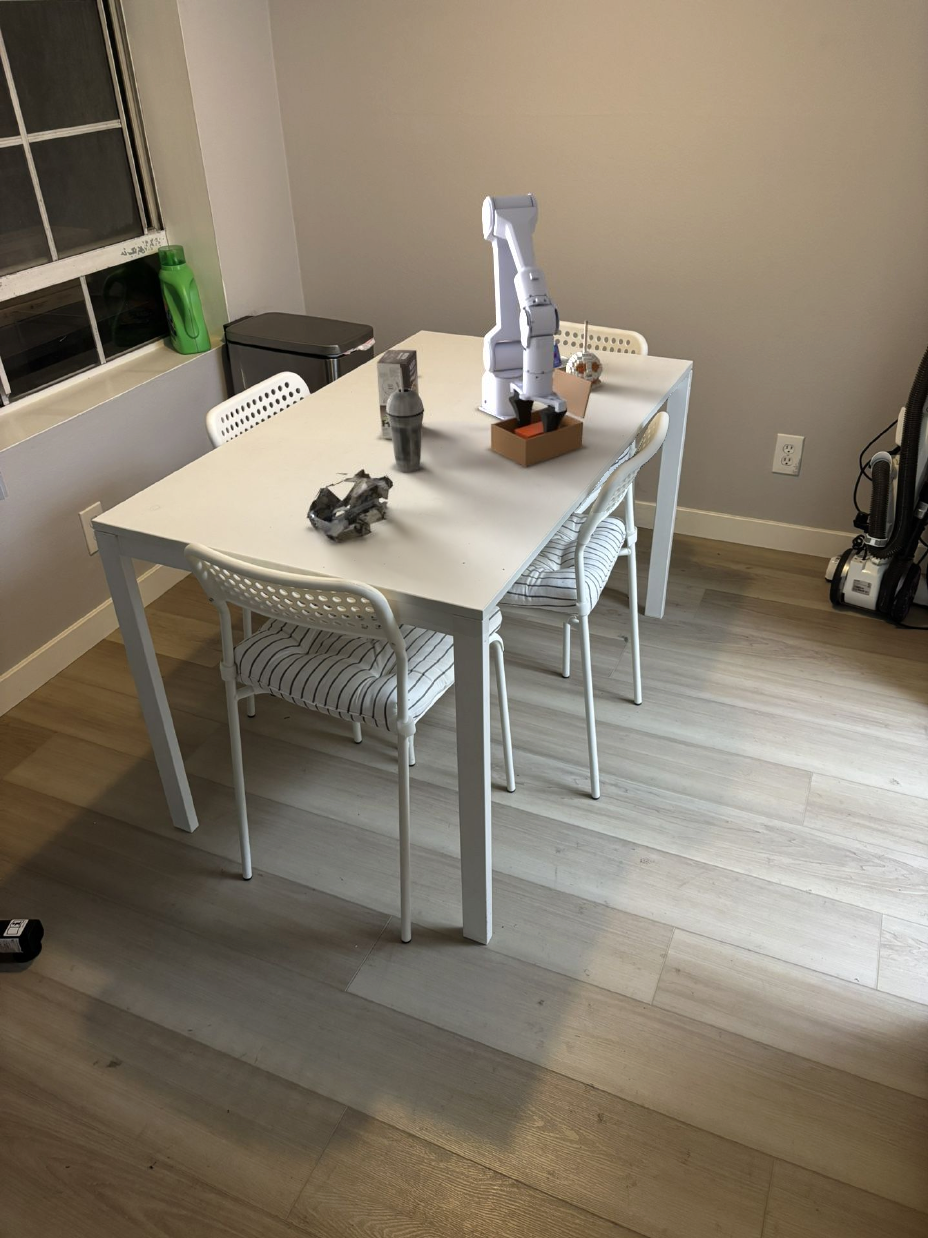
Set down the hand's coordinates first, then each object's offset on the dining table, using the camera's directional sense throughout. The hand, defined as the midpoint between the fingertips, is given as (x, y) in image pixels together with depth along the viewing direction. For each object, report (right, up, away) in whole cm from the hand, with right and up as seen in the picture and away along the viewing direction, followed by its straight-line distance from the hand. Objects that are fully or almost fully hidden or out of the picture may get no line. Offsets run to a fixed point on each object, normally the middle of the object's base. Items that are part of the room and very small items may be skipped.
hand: (536, 435), depth 190 cm
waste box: (0, -2, +2) cm, 3 cm away
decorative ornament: (+13, +18, +31) cm, 38 cm away
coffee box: (-28, +3, +11) cm, 30 cm away
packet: (0, -2, +1) cm, 2 cm away
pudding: (+5, +26, +44) cm, 52 cm away
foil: (-34, -20, -24) cm, 46 cm away
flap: (+6, +9, 0) cm, 11 cm away
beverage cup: (-25, -7, -5) cm, 27 cm away
